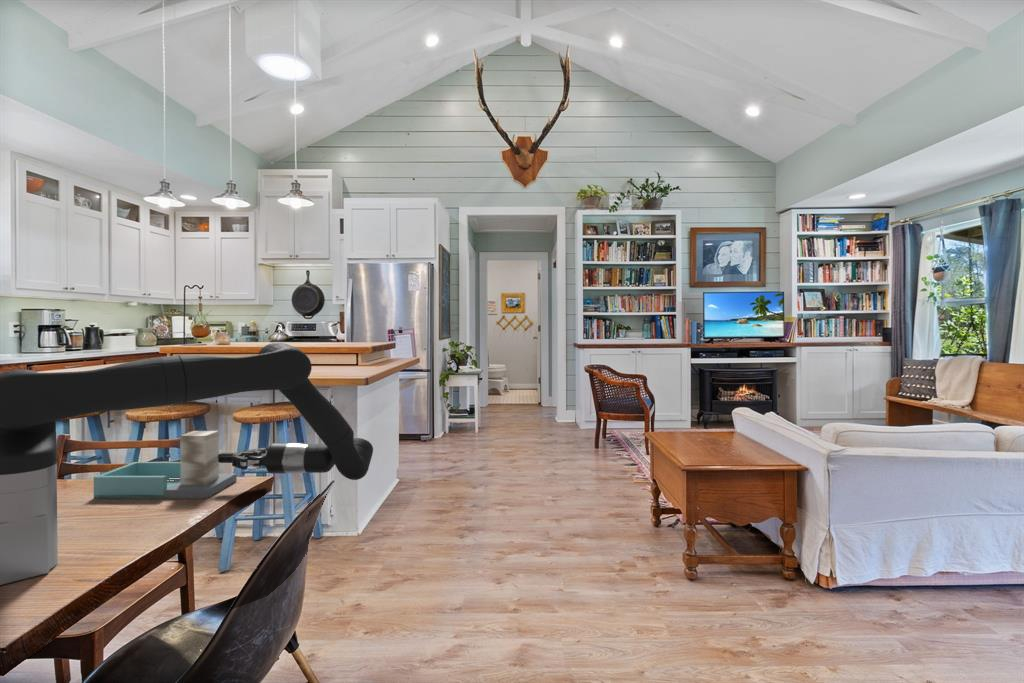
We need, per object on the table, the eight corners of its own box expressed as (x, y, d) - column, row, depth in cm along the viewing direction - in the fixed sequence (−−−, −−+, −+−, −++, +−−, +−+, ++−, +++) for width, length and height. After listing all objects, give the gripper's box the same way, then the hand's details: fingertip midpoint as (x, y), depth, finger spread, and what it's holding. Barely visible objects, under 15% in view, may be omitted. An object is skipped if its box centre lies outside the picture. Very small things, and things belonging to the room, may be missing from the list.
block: (218, 477, 132) (218, 430, 132) (205, 484, 126) (205, 435, 126) (194, 477, 132) (194, 430, 131) (180, 484, 126) (180, 435, 125)
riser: (236, 480, 136) (236, 473, 136) (207, 498, 122) (207, 489, 122) (197, 480, 136) (197, 473, 136) (163, 498, 122) (163, 489, 122)
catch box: (197, 480, 136) (197, 462, 135) (163, 498, 122) (163, 477, 122) (134, 480, 135) (134, 461, 135) (93, 498, 121) (93, 477, 121)
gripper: (300, 437, 136) (233, 437, 135) (279, 449, 123) (204, 448, 122) (299, 466, 136) (232, 465, 135) (279, 480, 123) (204, 480, 122)
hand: (219, 457), depth 129 cm, fingers closed
